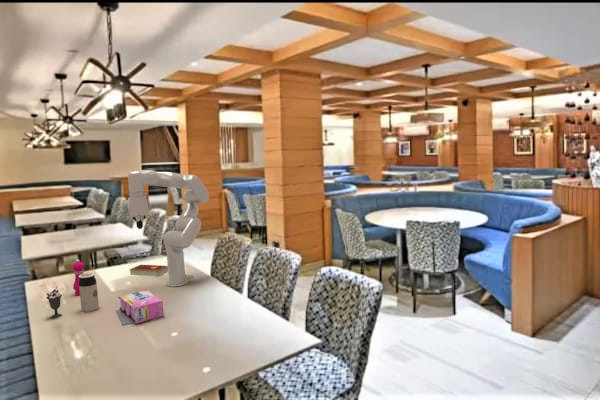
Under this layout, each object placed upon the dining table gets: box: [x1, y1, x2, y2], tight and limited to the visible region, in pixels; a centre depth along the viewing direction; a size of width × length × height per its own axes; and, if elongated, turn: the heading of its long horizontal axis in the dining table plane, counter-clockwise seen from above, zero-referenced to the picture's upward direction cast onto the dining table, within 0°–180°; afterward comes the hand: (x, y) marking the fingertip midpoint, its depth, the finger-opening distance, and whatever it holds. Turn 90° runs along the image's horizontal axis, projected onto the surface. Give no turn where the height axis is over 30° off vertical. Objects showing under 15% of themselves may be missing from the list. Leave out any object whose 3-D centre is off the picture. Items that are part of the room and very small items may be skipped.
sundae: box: [46, 287, 63, 319], centre depth 213 cm, size 7×7×15 cm
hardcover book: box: [129, 264, 168, 277], centre depth 283 cm, size 12×21×4 cm, turn 73°
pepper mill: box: [72, 259, 85, 297], centre depth 245 cm, size 7×7×20 cm
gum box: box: [118, 289, 165, 325], centre depth 212 cm, size 24×8×14 cm
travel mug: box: [79, 272, 100, 313], centre depth 220 cm, size 8×8×18 cm
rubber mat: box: [115, 308, 135, 326], centre depth 213 cm, size 16×22×1 cm
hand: (140, 228), depth 235 cm, fingers closed
